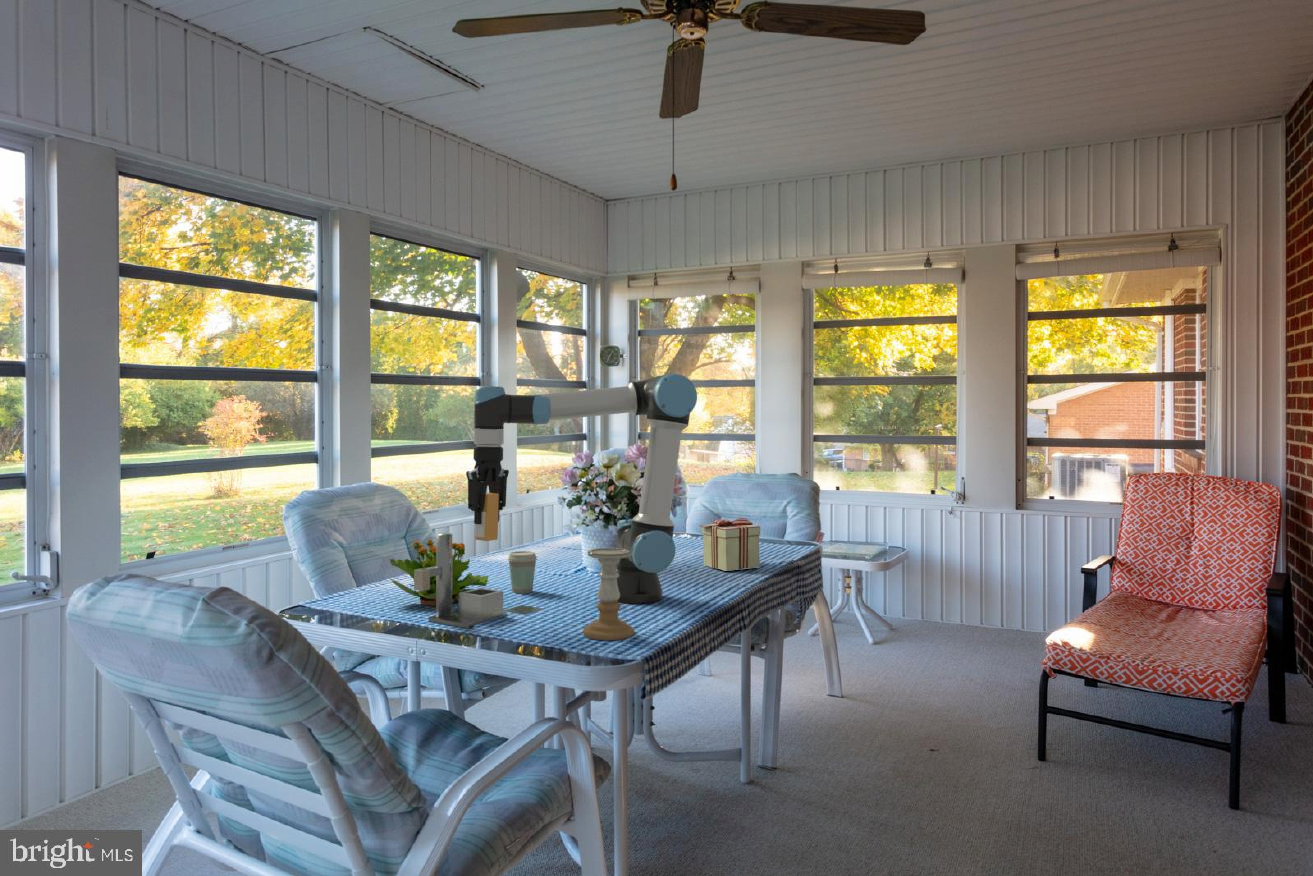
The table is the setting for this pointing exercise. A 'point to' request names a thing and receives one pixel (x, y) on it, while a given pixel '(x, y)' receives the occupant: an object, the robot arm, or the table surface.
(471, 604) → the grey post stand
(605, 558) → the candle holder
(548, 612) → the table surface
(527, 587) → the coffee cup
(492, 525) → the tan rectangular bar
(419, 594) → the potted flower
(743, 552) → the gift box
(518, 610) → the plate
